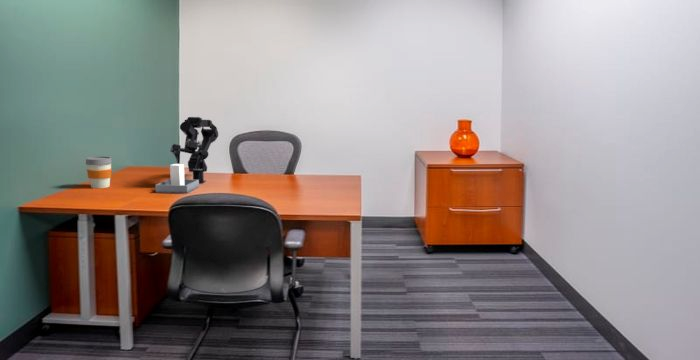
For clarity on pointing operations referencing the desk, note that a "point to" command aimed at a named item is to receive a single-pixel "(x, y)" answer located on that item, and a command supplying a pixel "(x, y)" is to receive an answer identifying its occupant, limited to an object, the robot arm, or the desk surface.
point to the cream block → (177, 174)
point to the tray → (177, 186)
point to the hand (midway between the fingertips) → (187, 167)
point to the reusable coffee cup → (99, 171)
